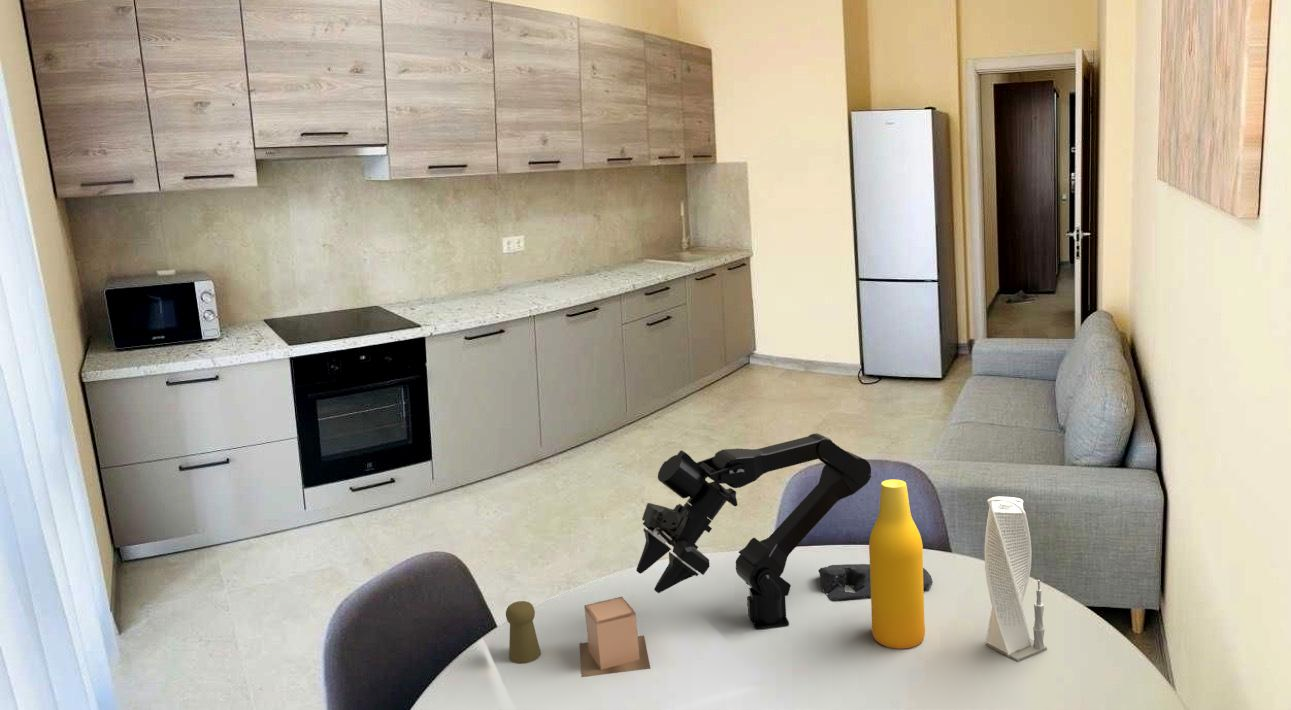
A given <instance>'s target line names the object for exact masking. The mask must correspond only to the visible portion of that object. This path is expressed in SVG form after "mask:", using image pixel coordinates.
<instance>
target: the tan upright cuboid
mask: <svg viewBox="0 0 1291 710" xmlns="http://www.w3.org/2000/svg"><path fill="white" fill-rule="evenodd" d="M584 616H585V625H586V626H585V627H586V636H587V638H586V639H587V642H588V648H589V652H590V654H591V655H592V657H593V658H594V660H595V661H596V663H597V664H598V666H599V667H600V669H601V670H602V669H606V668H609V667H613V666H617V665H621V664H624V663H628V662H632V661H636V660H640V658H639V646H638V636H639V635H638V627H637V625H638V624H637V615H636V611H635V610H634V609H633V608H632V607H631V605H630V604H629V603H628V601H627V600H625V598H624V597H623V596H618V597H615V598H609V599H607V600H606V599H605V600H602V601H597V602H594V603H589V604H585V605H584Z"/></svg>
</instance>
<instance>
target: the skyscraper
mask: <svg viewBox="0 0 1291 710" xmlns="http://www.w3.org/2000/svg"><path fill="white" fill-rule="evenodd" d="M986 501H987V505H988V513H987V514H988V515H987V521H986V527H985V535H984V536H985V537H984V538H985V539H984V569H985V570H984V571H985V577H986V584H987V588H988V589H987V590H988V594H989V595H988V596H989V598H990V604H991V611H990V615H989V616H990V617H989V621H988V627H987V633H986V639H985V646H986V647H988V648H991V649H992V650H995V651H997V652H998V653H1000V654H1003V655H1004V656H1006V657H1008V658H1009V659H1012V660H1013V661H1016V662H1017V663H1018V662H1021V661H1023V660H1025V659H1028V658H1031V657H1033V656H1035V655H1038V654H1040V653H1042V652H1044V651H1046V650H1048V647H1047V646H1046V645H1045V643H1044V639H1045V631H1046V630H1045V629H1046V628H1045V627H1044V622H1043V620H1044V619H1043V618H1044V611H1045V610H1044V607H1045V605H1044V603H1043V602H1042V589H1041V580H1040V579H1038V580H1037V588H1036V590H1035V591H1036V602H1034V603H1033V608H1034V609H1033V610H1034V624H1033V625H1034V626H1033V627H1032V629H1033V639H1034V640H1033V639H1031V637H1030V633H1029V628H1028V625H1027V621H1026V617H1025V616H1026V615H1025V614H1024V609H1023V606H1022V605H1023V601H1024V598H1025V595H1026V592H1027V588H1028V585H1029V580H1030V576H1031V568H1032V559H1033V558H1032V541H1031V540H1032V539H1031V533H1030V528H1029V523H1028V517H1027V513H1026V511H1025V510H1024V500H1023V499H1022V498H1019V497H1013V496H992V497H990V498H989V499H987V500H986Z"/></svg>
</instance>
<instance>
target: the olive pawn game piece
mask: <svg viewBox="0 0 1291 710" xmlns="http://www.w3.org/2000/svg"><path fill="white" fill-rule="evenodd" d="M535 615H536V611H535V607H534V605H533V604H532V603H531V602H530V601H525V600H519V601H516V602H515V601H514V602H512V603H510V604H509V605H508V606H507V608H506V610H505V618H506V621H507V623H508V624H509V647H508V658H509V661H511V663H515V664H521V665H522V664H529V663H532V662H535V661H536V660H538V659H539V658H540V657H541V655H542V652H541V648H540V644H539V641H538V636H537V633H536V629H535V624H534V619H535Z"/></svg>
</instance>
